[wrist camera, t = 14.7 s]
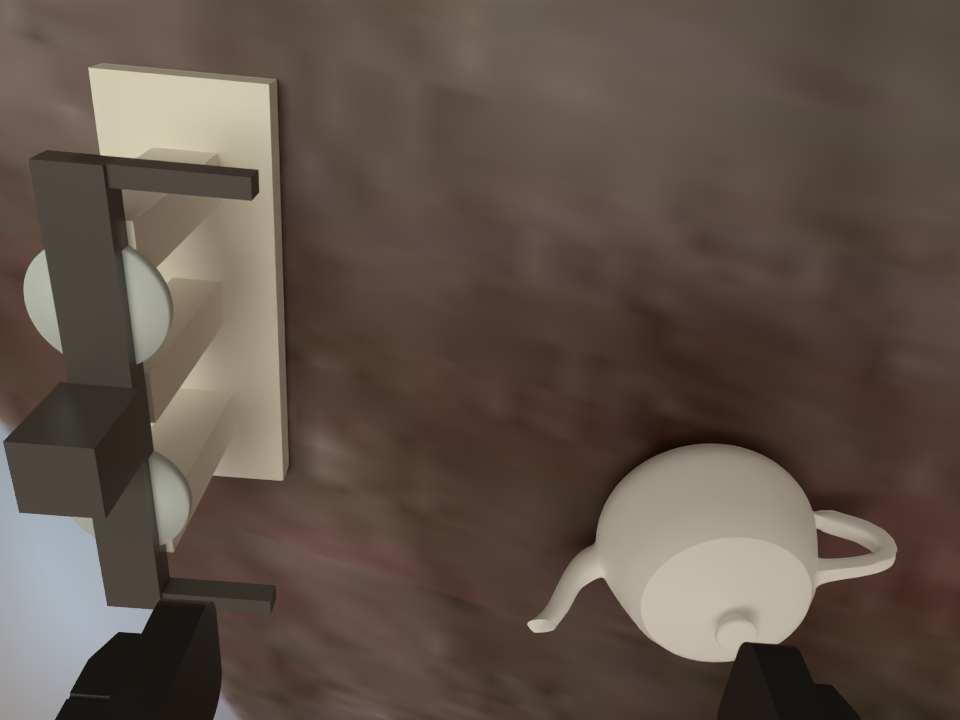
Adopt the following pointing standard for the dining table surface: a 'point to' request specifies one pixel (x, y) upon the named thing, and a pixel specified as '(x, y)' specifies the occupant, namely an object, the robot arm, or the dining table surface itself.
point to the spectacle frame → (111, 376)
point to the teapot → (714, 552)
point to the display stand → (207, 267)
